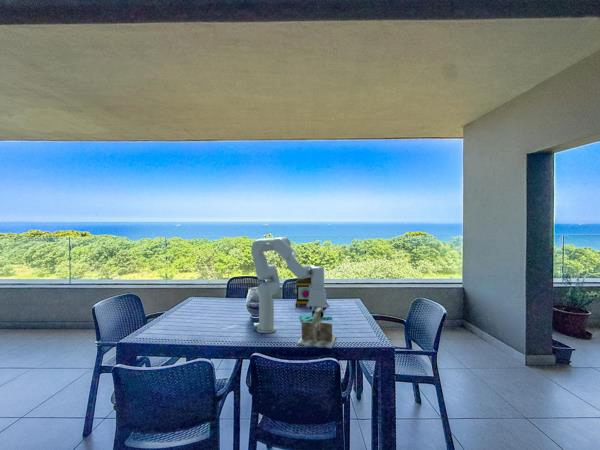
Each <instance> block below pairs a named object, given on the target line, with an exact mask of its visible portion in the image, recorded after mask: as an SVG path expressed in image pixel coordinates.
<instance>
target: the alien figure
mask: <svg viewBox="0 0 600 450" xmlns="http://www.w3.org/2000/svg"><path fill="white" fill-rule="evenodd" d="M298 318H299V321H300V323H302V321H306V322H313V316H312V313H308V314H306V313H304V314H301V315H299V317H298ZM323 320H324V321H328V320H329V321H331V320H333V316H323V317H322V318H321V321H323Z"/></svg>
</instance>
